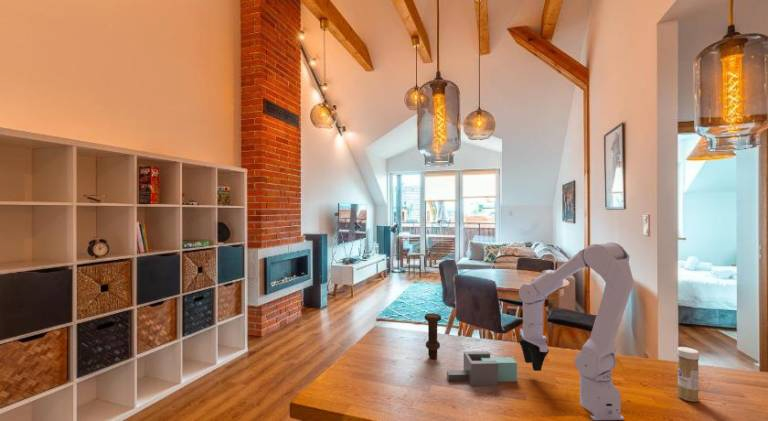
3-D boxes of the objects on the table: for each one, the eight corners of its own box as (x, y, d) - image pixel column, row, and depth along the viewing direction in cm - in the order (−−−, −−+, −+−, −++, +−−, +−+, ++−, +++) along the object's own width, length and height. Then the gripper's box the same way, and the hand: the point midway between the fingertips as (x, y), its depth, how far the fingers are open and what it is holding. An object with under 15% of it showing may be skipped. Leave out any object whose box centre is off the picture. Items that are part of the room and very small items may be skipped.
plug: (516, 381, 107) (516, 362, 107) (484, 381, 107) (484, 362, 107) (512, 375, 111) (511, 357, 111) (480, 375, 111) (480, 357, 111)
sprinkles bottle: (673, 394, 99) (672, 346, 99) (687, 393, 100) (687, 346, 100) (688, 403, 95) (688, 353, 95) (703, 402, 95) (703, 352, 95)
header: (498, 385, 104) (498, 363, 104) (451, 386, 104) (451, 364, 104) (488, 371, 113) (488, 351, 113) (445, 372, 113) (445, 351, 113)
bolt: (441, 355, 126) (441, 313, 126) (441, 361, 121) (440, 317, 121) (425, 354, 127) (424, 312, 127) (424, 360, 122) (424, 316, 122)
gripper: (557, 330, 102) (558, 376, 102) (534, 315, 117) (534, 356, 117) (534, 330, 102) (534, 377, 102) (513, 315, 116) (513, 356, 116)
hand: (532, 366), depth 109 cm, fingers open, 5 cm apart
